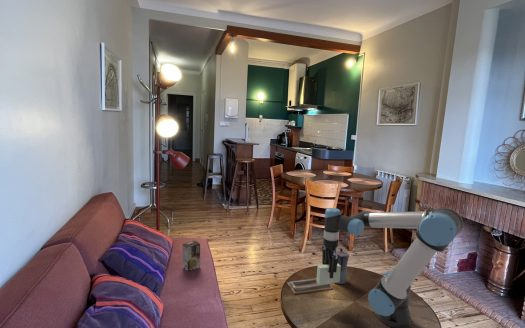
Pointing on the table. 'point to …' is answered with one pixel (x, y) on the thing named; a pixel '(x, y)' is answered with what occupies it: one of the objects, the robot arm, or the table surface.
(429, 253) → the robot arm
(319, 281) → the pale green block
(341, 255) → the moka pot
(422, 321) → the table surface
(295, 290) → the grey rectangular tray
